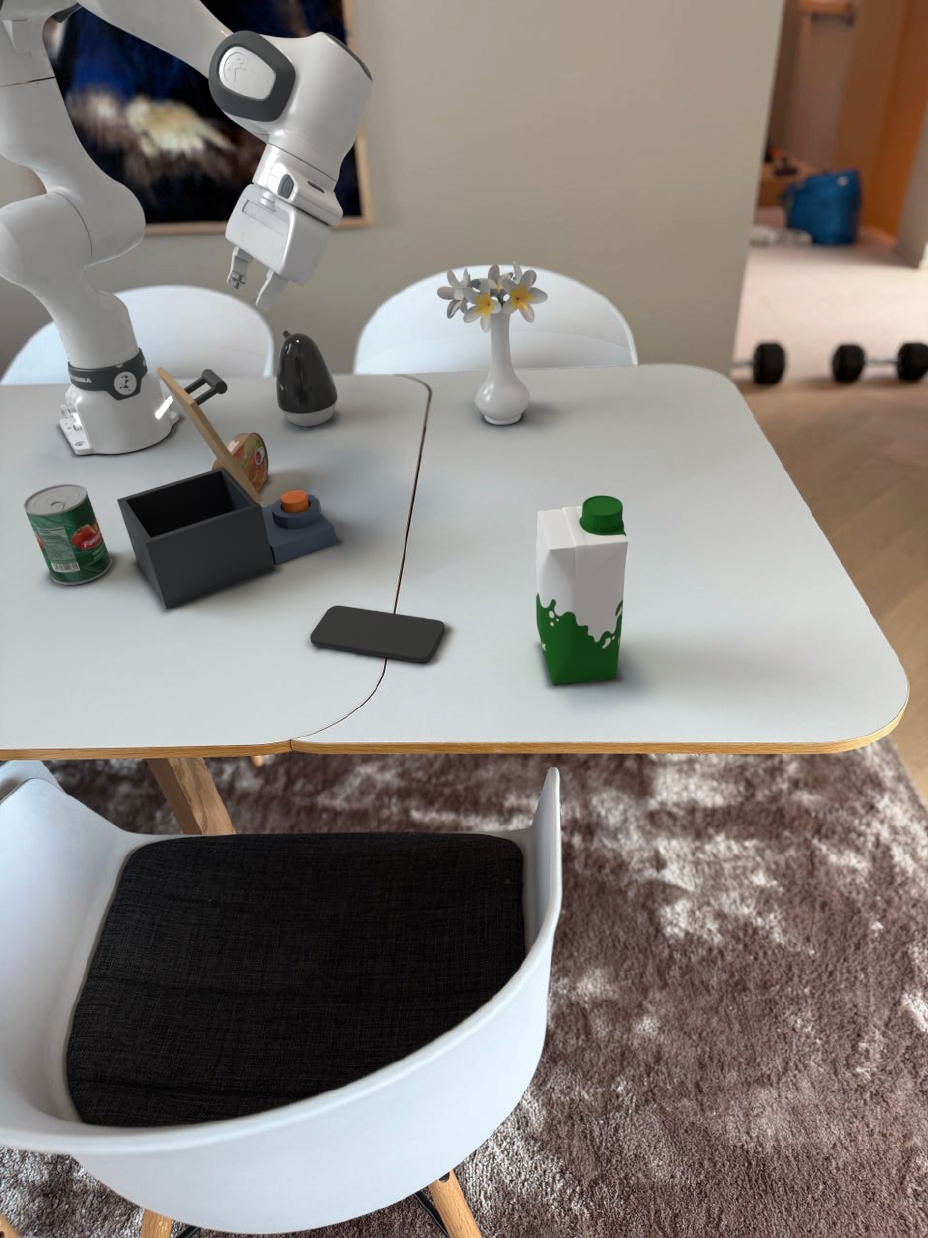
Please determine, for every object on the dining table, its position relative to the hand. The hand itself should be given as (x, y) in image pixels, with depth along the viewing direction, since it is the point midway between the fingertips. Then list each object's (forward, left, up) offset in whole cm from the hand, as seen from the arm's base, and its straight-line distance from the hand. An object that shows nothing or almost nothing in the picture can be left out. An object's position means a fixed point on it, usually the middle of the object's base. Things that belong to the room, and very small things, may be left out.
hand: (246, 297), depth 112 cm
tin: (-11, -1, -32) cm, 34 cm away
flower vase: (-2, +43, -32) cm, 54 cm away
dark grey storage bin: (+2, -15, -32) cm, 35 cm away
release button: (+4, -1, -28) cm, 28 cm away
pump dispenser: (-26, +21, -32) cm, 46 cm away
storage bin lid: (+2, -10, -14) cm, 18 cm away
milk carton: (+51, +5, -32) cm, 60 cm away
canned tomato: (-10, -27, -32) cm, 43 cm away
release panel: (+4, -2, -32) cm, 32 cm away
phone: (+31, -8, -32) cm, 45 cm away
